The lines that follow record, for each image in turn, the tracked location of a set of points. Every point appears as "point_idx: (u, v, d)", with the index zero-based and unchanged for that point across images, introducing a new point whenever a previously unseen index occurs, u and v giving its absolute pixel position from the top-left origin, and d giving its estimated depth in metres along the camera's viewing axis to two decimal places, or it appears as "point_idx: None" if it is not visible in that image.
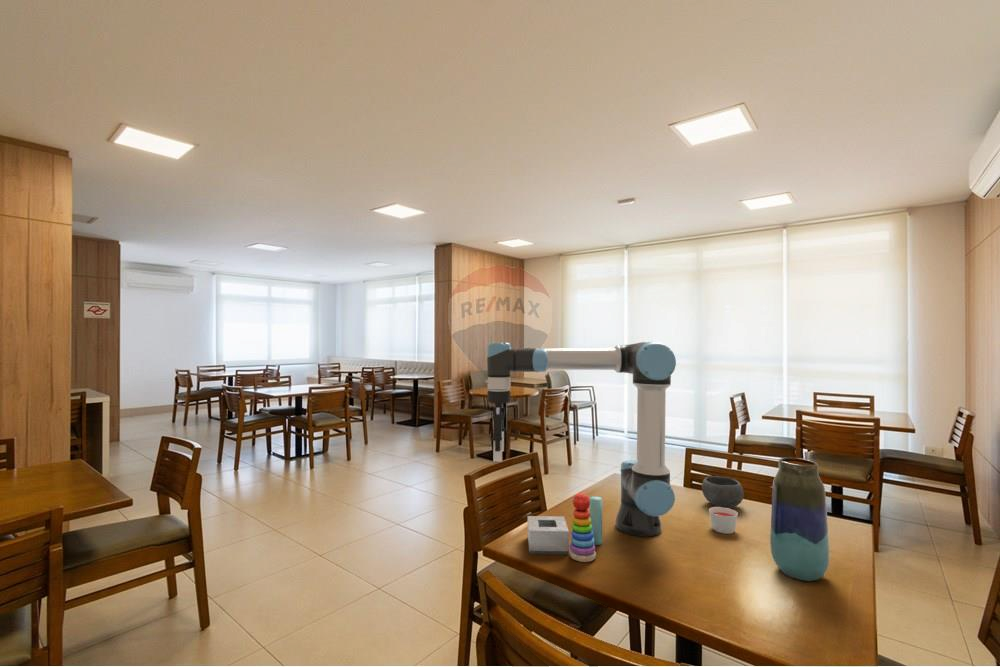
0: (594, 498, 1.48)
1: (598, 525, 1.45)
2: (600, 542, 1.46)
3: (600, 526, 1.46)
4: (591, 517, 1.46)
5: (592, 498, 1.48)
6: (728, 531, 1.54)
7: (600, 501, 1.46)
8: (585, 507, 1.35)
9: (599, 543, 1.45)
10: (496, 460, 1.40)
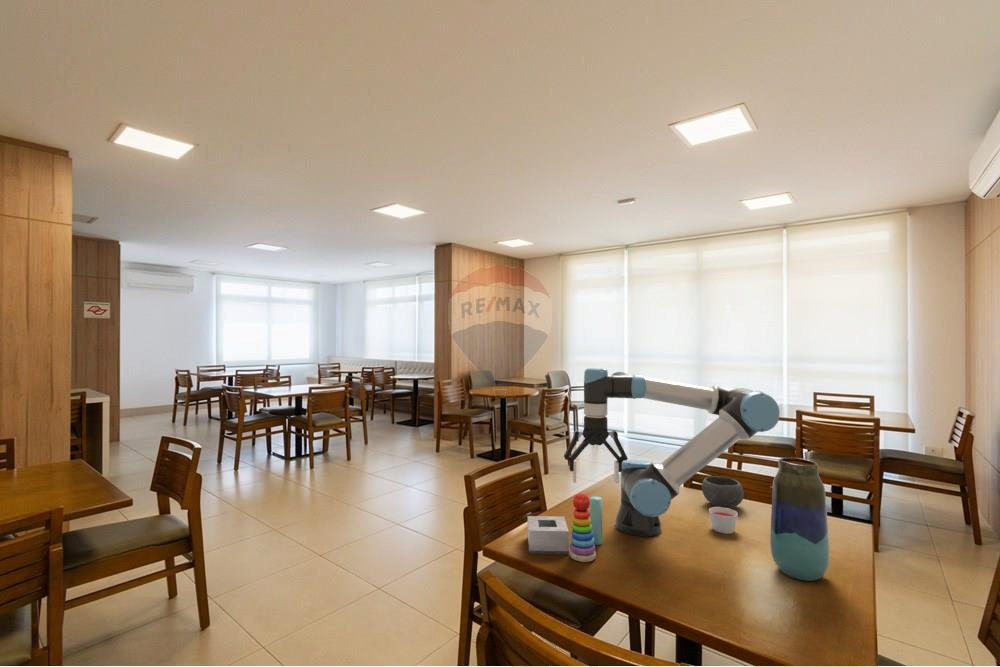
0: (594, 498, 1.48)
1: (598, 525, 1.45)
2: (600, 542, 1.46)
3: (600, 526, 1.46)
4: (591, 517, 1.46)
5: (592, 498, 1.48)
6: (728, 531, 1.54)
7: (600, 501, 1.46)
8: (585, 507, 1.35)
9: (599, 543, 1.45)
10: (573, 479, 1.48)
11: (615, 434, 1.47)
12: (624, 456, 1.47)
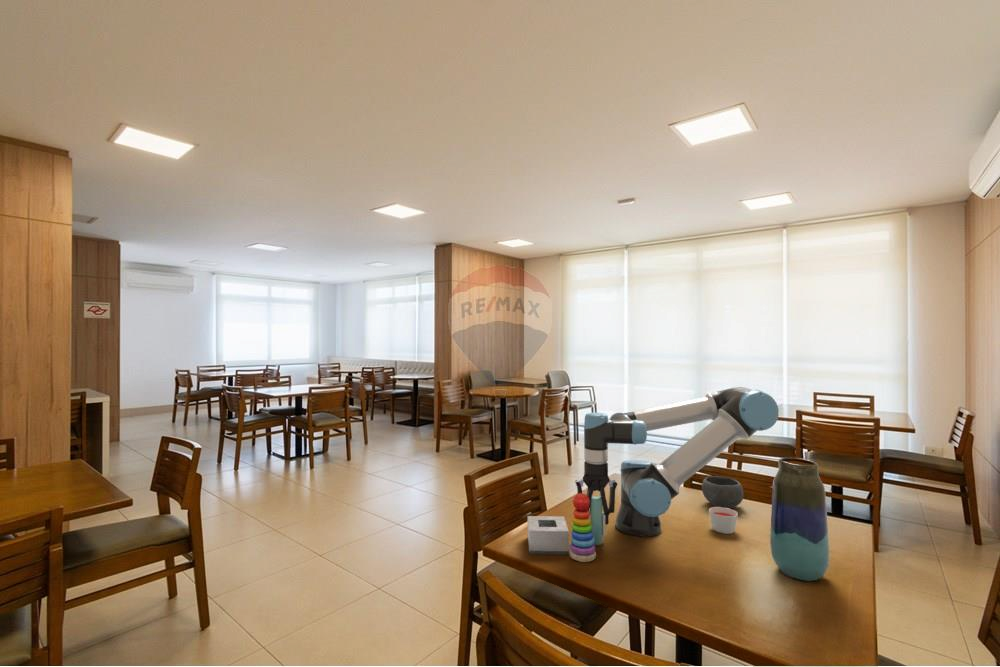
0: (594, 498, 1.48)
1: (598, 525, 1.46)
2: (600, 542, 1.46)
3: (600, 526, 1.46)
4: (591, 517, 1.46)
5: (592, 498, 1.48)
6: (728, 531, 1.54)
7: (600, 501, 1.46)
8: (585, 507, 1.35)
9: (599, 543, 1.45)
10: None
11: (614, 485, 1.46)
12: (612, 508, 1.46)
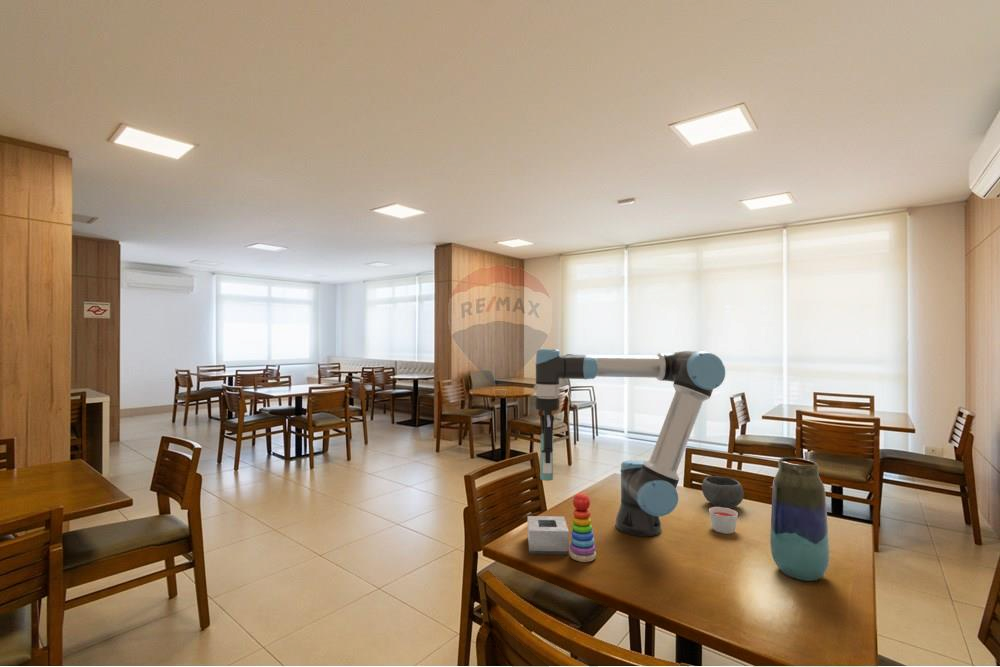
0: None
1: None
2: None
3: None
4: None
5: None
6: (728, 531, 1.54)
7: None
8: (585, 507, 1.35)
9: None
10: (546, 472, 1.42)
11: None
12: None
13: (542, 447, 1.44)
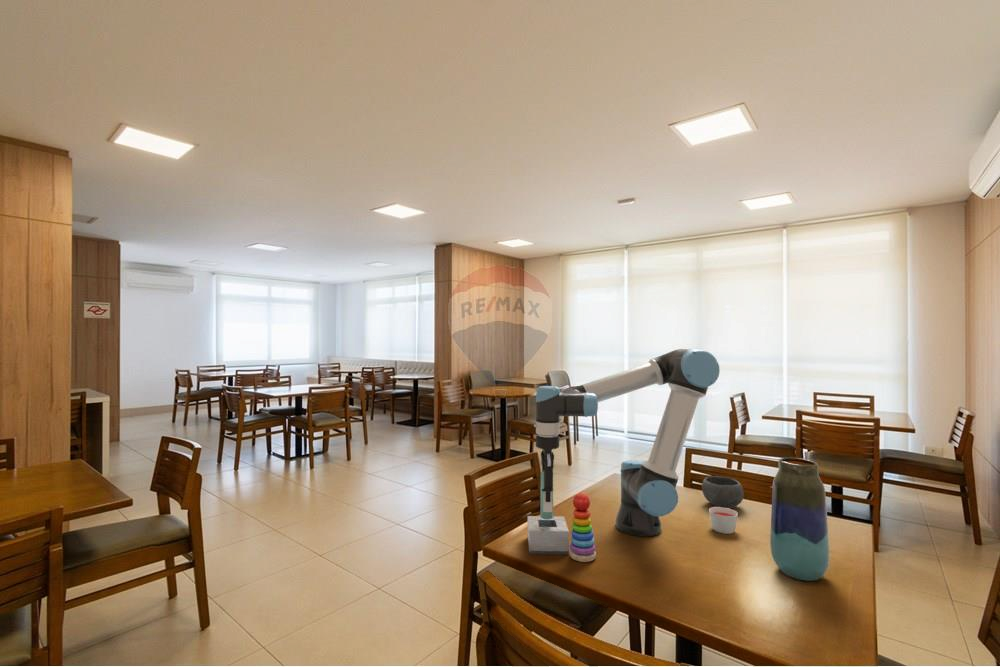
0: None
1: None
2: None
3: None
4: None
5: None
6: (728, 531, 1.54)
7: None
8: (585, 507, 1.35)
9: None
10: (546, 510, 1.42)
11: None
12: None
13: (542, 485, 1.44)
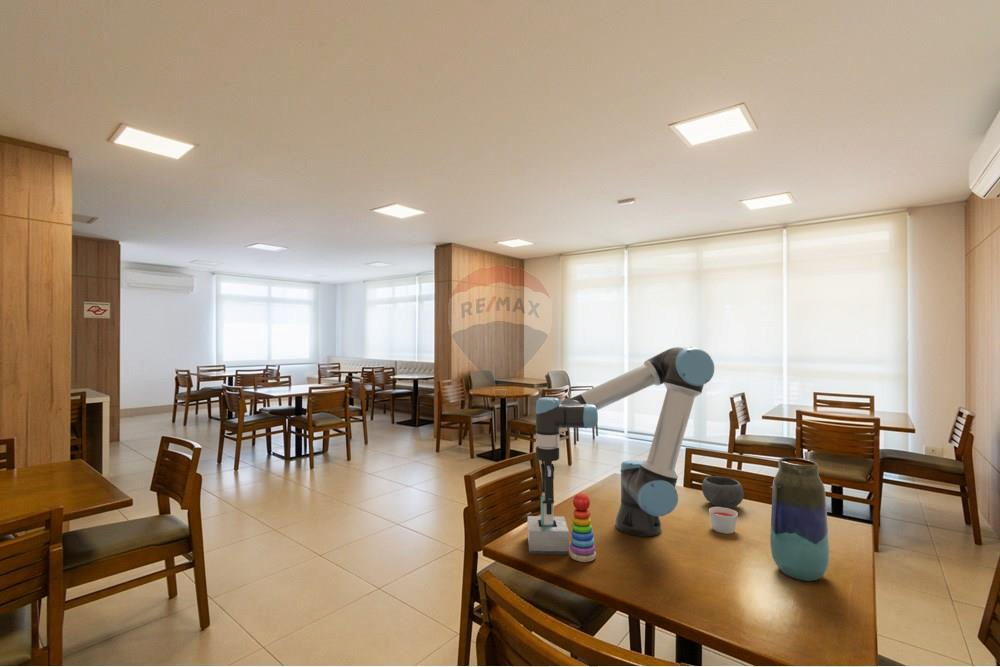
0: None
1: None
2: None
3: None
4: None
5: None
6: (728, 531, 1.54)
7: None
8: (585, 507, 1.35)
9: None
10: (547, 523, 1.40)
11: None
12: None
13: (542, 511, 1.43)
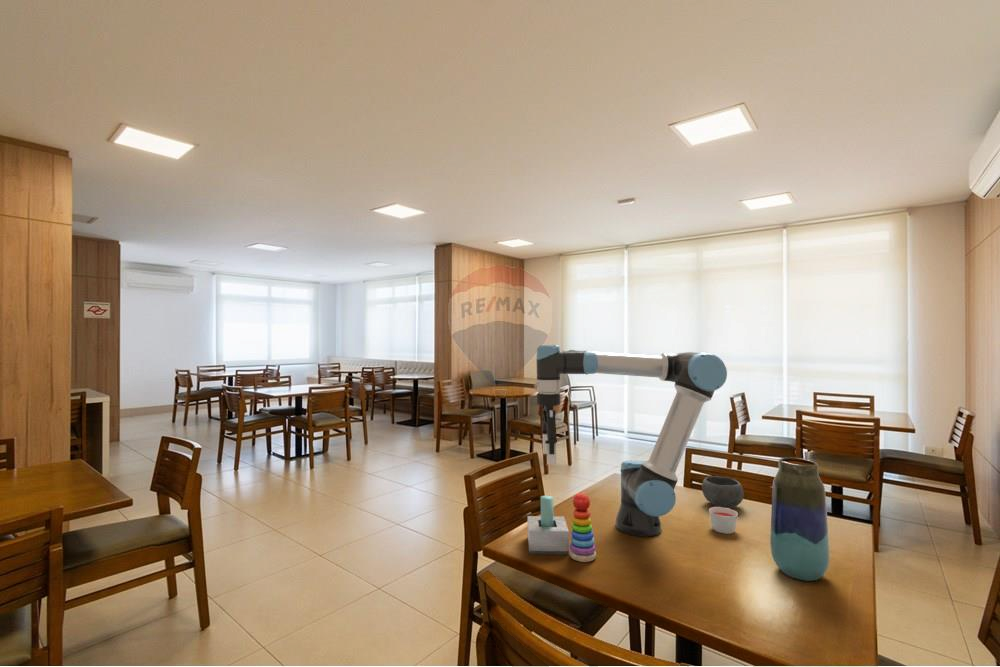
0: (547, 498, 1.45)
1: None
2: None
3: None
4: (550, 517, 1.43)
5: (547, 498, 1.44)
6: (728, 531, 1.54)
7: None
8: (585, 507, 1.35)
9: None
10: (550, 463, 1.40)
11: None
12: None
13: (542, 511, 1.44)
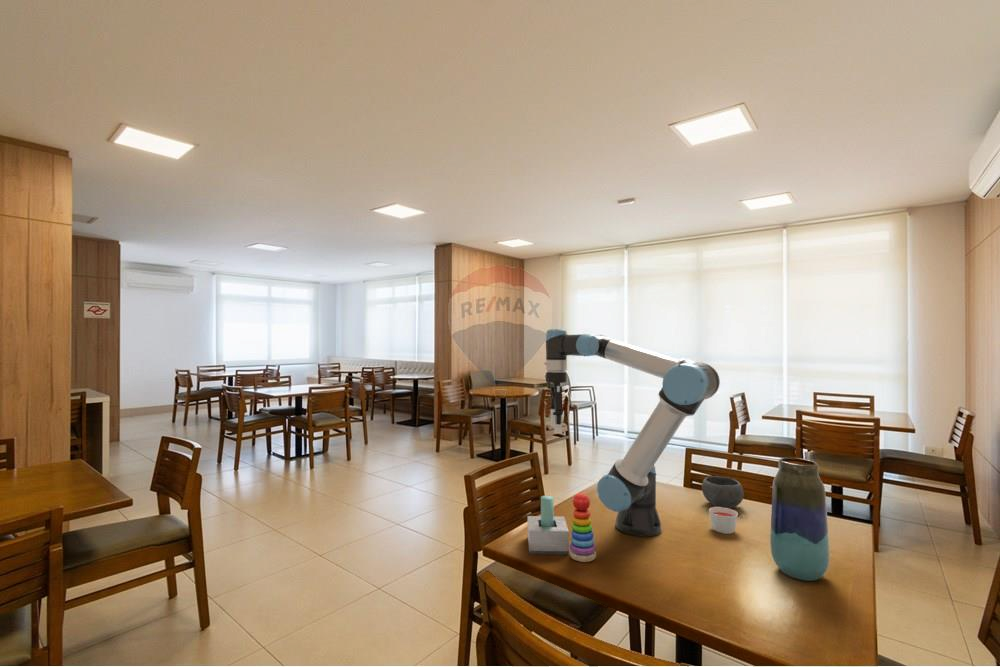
0: (547, 498, 1.45)
1: None
2: None
3: None
4: (551, 517, 1.43)
5: (547, 499, 1.44)
6: (728, 531, 1.54)
7: None
8: (585, 507, 1.35)
9: None
10: (557, 432, 1.59)
11: None
12: None
13: (542, 511, 1.44)
